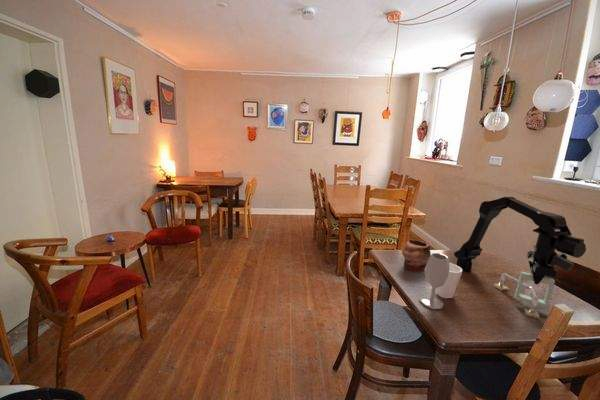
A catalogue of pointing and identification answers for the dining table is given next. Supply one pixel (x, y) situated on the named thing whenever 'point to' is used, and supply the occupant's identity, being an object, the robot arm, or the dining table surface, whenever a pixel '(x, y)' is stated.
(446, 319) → the dining table surface
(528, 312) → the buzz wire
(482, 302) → the dining table surface
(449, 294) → the foam cup
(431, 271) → the wineglass
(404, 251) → the decorative planter
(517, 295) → the mint green frame
